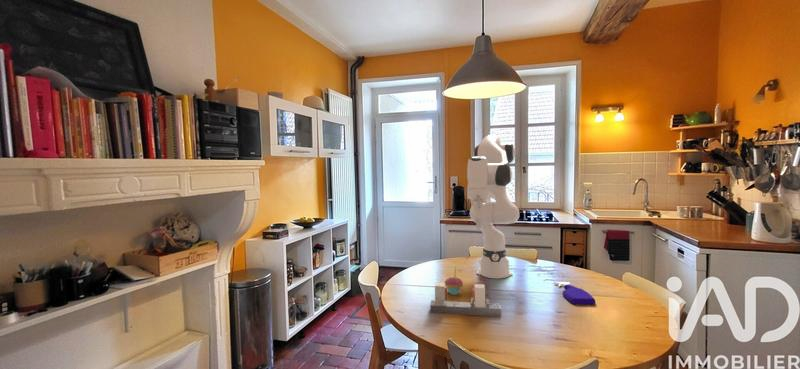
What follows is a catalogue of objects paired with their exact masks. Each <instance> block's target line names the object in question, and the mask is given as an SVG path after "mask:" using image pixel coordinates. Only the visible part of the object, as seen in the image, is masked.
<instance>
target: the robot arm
mask: <svg viewBox="0 0 800 369" xmlns="http://www.w3.org/2000/svg"><path fill="white" fill-rule="evenodd" d="M472 155H473V156H471V157H469V158H468V161H467V168H466V180H467V186H466V187H467V188H466V189H467V191H466V192H467V193H466V194H467V196H466V198H467V200H470V204H471V207H470V209H469V216H470V219H471V221H473V222H474V223H475V225H476V229H477V230H481V232H482V238H483V248H482V257H481V258H480V259H479V262H478V263H479V267H478V269H477V271H476V275H479V276H483V277H485V278H490V279H504V278H505V279H506V278H507V277H510V276H513V272H512V271H510V260H509V259H508V258H507V251H506V250H507V249H506V237H505V234H504V233H503V232H502V231H501V230H498V228H495V226H494V224H495V225H510V224H516V223H517V221H518V220H519V218H520V209H519V207H518V206H517V205H515V204H514V202H512V201H511V200H510V198H509V197H508V195H507V187H506V186H507V185H509V184H510V183H511V181H512V178H513V176H512V175H513V173H512V169H511V166H510V164H511V163H512V162H513V161H514V159H515V157H516V149H515V146H514V145H513V143H510V142H504V143H503V142H501V139H500V137H498V136H497V135H496V134H488V135H486V136H485V137H483V139H482V140H481V141H480V143H479V144H478V145H476V146H475V147H474V148H473V154H472ZM489 198H490V199H492V200H494V201H495V202H493V203H492V202H486V200H489Z"/></svg>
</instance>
